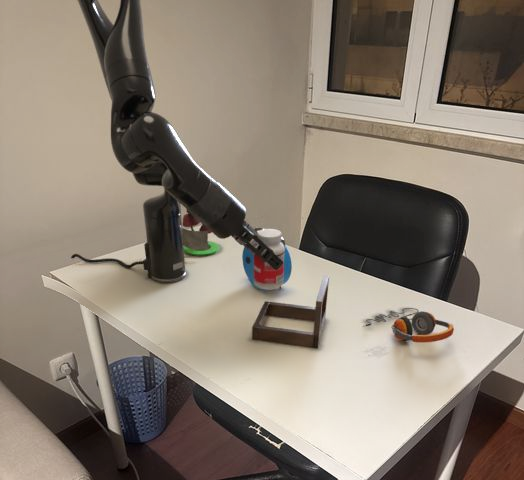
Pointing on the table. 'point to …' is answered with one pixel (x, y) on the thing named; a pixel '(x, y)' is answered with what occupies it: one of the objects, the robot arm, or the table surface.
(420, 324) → the headphones
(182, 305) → the table surface
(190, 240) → the multicoloured stacked figure
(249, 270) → the alarm clock
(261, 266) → the pill bottle
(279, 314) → the wooden frame
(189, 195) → the robot arm
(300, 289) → the table surface
